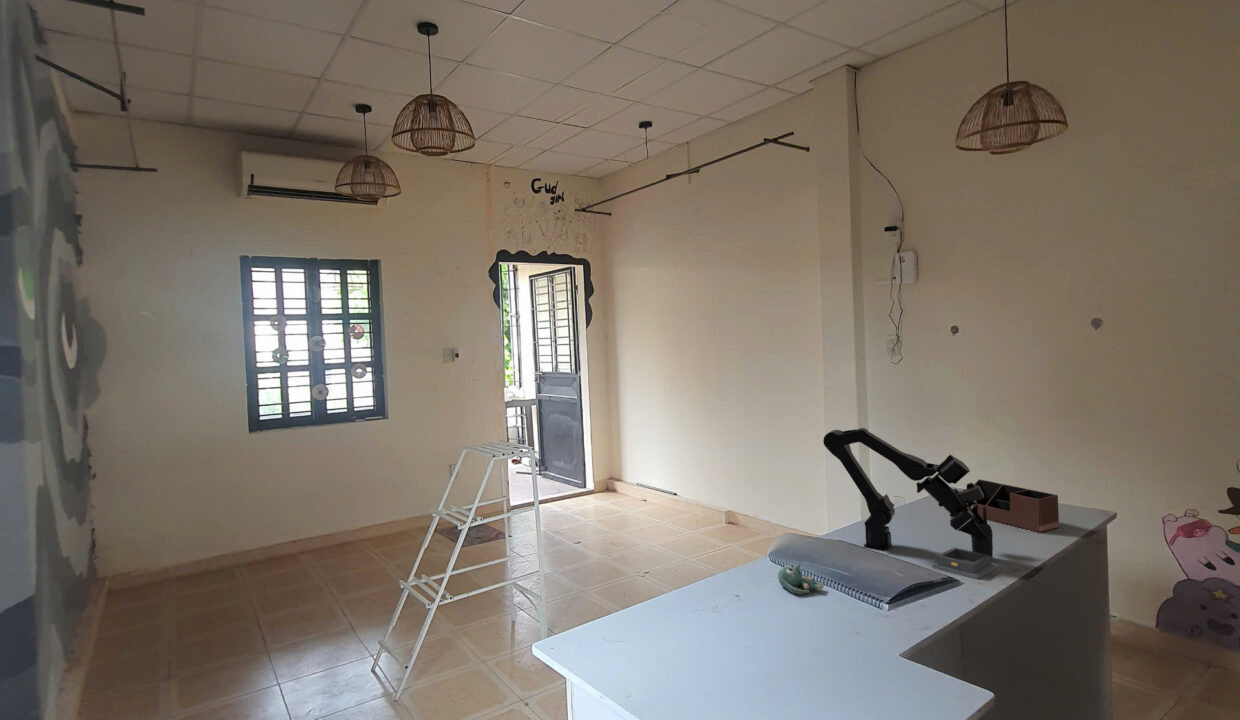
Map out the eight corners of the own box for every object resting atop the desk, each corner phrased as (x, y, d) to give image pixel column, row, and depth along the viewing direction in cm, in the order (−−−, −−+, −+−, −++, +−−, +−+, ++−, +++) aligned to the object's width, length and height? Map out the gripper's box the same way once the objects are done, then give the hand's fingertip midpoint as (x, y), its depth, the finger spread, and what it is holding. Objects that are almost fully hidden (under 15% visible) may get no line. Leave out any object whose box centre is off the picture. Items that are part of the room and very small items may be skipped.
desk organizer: (1040, 534, 202) (1039, 499, 201) (959, 513, 229) (958, 482, 228) (1061, 529, 206) (1060, 494, 205) (979, 509, 233) (978, 478, 232)
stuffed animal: (819, 580, 161) (774, 564, 167) (815, 606, 162) (770, 590, 168) (829, 566, 170) (786, 552, 176) (825, 591, 171) (782, 576, 177)
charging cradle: (932, 567, 178) (932, 555, 178) (952, 558, 185) (952, 546, 185) (976, 579, 169) (976, 566, 169) (996, 568, 175) (995, 556, 175)
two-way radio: (991, 556, 184) (989, 505, 184) (996, 562, 180) (994, 509, 180) (970, 556, 186) (968, 505, 185) (974, 561, 181) (972, 509, 181)
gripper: (961, 483, 176) (1009, 526, 171) (966, 469, 192) (1011, 509, 187) (931, 508, 181) (977, 551, 175) (939, 493, 197) (981, 532, 191)
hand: (987, 535), depth 182 cm, fingers open, 9 cm apart
